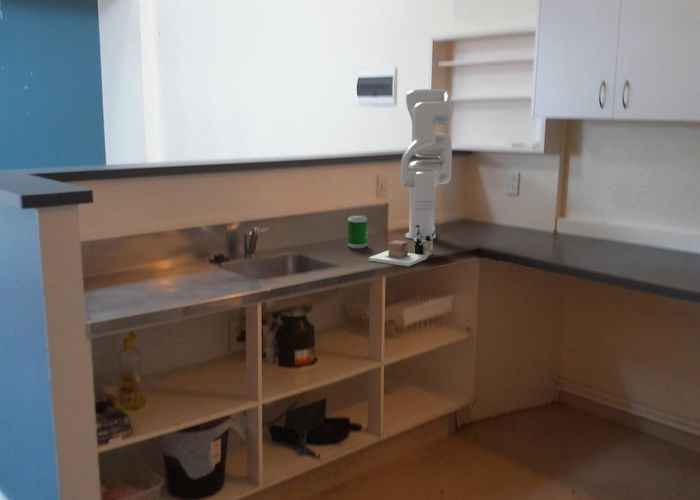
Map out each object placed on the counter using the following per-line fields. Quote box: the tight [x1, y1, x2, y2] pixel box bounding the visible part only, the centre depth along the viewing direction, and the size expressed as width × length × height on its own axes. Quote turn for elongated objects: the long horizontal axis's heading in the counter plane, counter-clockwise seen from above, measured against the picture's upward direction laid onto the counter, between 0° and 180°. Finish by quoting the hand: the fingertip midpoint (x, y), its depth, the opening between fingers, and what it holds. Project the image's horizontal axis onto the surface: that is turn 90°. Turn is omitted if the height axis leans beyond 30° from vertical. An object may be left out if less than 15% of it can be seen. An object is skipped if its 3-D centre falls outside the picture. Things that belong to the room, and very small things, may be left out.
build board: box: [368, 249, 428, 267], centre depth 254 cm, size 14×16×1 cm
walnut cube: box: [388, 239, 409, 258], centre depth 253 cm, size 5×5×5 cm
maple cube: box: [413, 240, 434, 258], centre depth 261 cm, size 5×5×5 cm
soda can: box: [347, 214, 368, 249], centre depth 275 cm, size 8×8×12 cm
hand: (423, 253), depth 262 cm, fingers open, 6 cm apart
